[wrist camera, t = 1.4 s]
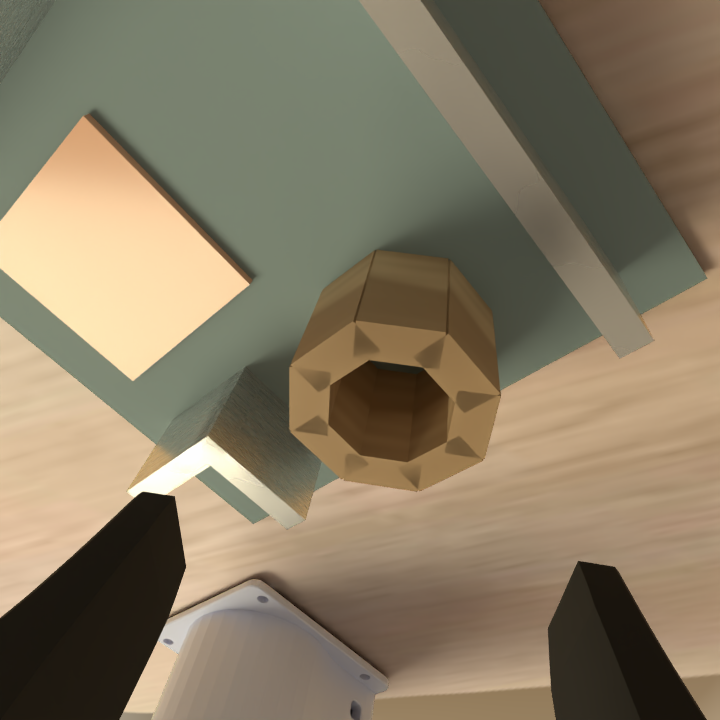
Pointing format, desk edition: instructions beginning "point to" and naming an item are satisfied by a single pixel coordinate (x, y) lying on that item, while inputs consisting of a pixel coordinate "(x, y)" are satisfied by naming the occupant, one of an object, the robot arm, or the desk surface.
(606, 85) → the desk surface
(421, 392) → the oak ring
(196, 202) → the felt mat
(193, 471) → the metal walled tray
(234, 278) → the pad
